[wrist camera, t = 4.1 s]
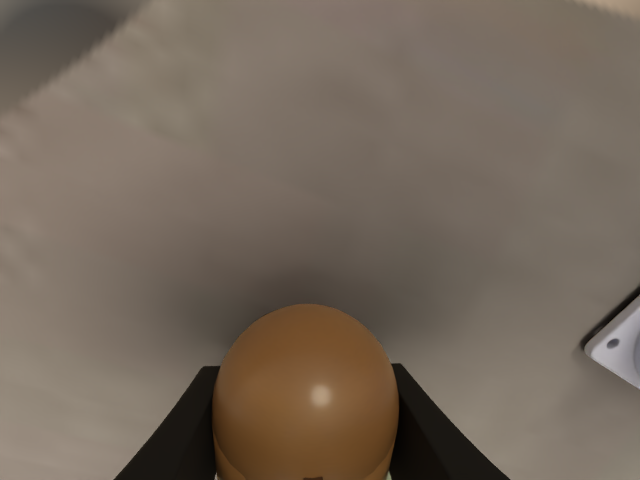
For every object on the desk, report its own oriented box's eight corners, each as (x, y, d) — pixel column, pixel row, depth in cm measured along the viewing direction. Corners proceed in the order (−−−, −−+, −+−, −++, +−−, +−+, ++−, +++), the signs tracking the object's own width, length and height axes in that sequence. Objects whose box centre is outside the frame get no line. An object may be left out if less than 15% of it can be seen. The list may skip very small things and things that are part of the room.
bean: (226, 271, 10) (170, 412, 5) (382, 274, 10) (455, 403, 6) (235, 426, 12) (201, 613, 8) (360, 422, 13) (399, 595, 8)
